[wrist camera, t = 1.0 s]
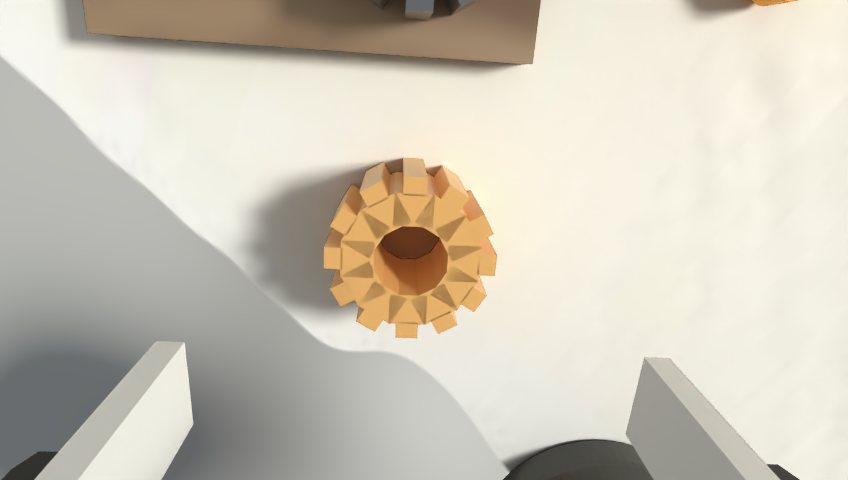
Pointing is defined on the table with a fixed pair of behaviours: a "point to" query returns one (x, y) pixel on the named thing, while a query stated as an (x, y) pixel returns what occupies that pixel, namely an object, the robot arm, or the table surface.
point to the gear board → (331, 26)
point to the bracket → (770, 2)
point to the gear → (426, 7)
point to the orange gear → (407, 278)
